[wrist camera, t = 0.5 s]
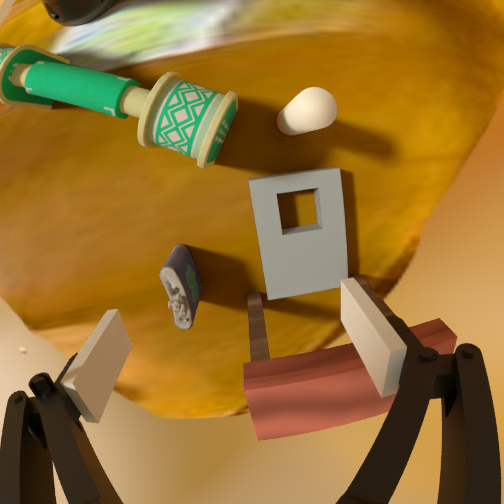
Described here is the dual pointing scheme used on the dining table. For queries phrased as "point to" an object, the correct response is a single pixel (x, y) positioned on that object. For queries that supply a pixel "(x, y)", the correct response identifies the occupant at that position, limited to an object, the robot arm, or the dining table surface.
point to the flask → (182, 285)
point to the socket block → (301, 234)
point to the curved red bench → (319, 378)
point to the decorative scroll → (122, 100)
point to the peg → (307, 112)
